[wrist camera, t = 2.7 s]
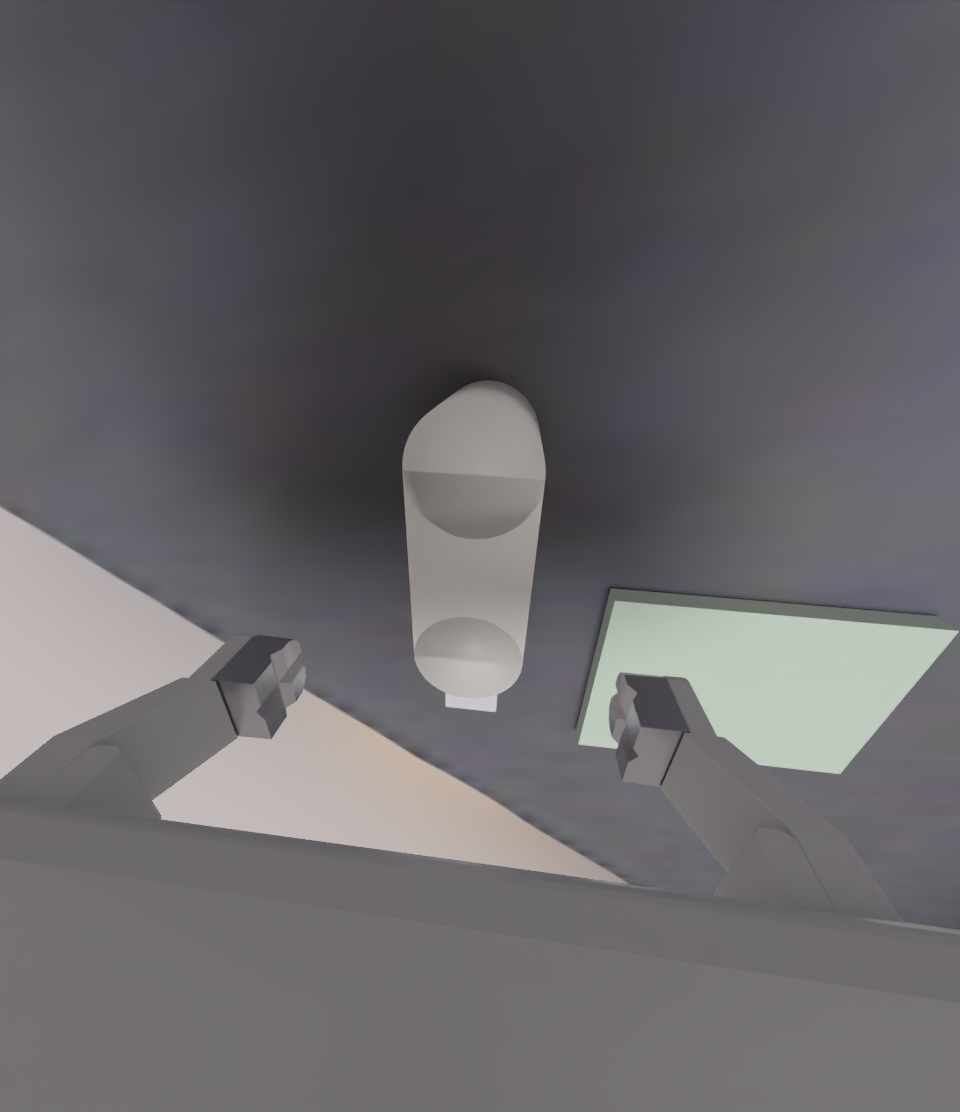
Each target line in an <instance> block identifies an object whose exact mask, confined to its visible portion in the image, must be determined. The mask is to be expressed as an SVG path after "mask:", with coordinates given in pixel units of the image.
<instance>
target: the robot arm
mask: <svg viewBox="0 0 960 1112" xmlns="http://www.w3.org/2000/svg"><path fill="white" fill-rule="evenodd" d="M300 653H301V648H300V645H299V642H298V641H296V640H294V639H287V638H279V637H271V636H263V635H251V634H244V633H239V634H236V635H233V636H232V637H231V638H230V639H229V640H228V641H227V642H226V643H225V644H224V645H223V646H222V647H221V648H220V649H218V650H217V652H215V653H214V655H212V656H211V657H210V658H209V659H208V660H207V661H206V662H205V663H204V664H203V665H202V666H201V667H200V668H199V669H198V670H197V671H196V672H194V674H192V675H191V676H190V677H189V678H181V679H178V680H176V681H174V682H172V683H170V684H168V685H165V686H163V687H161V688H159V689H156V690H154V691H152V692H150V693H148V694H145V695H143V696H141V697H139V698H137V699H135V700H132V701H130V702H128V703H126V704H124V705H122V706H119V707H117V708H115V709H113V710H111V711H108V712H106V713H104V714H102V715H99V716H97V717H96V718H93V719H91V720H89V721H86V722H84V723H82V724H80V725H77V726H75V727H73V728H71V729H69V730H67V731H64V732H63V733H60V734H58V735H56V736H54V737H52V738H51V739H50V740H49V741H47V742H46V743H45V744H44V745H42V746H41V747H40V748H39V749H38V750H36V751H35V752H34V753H33V754H31V755H30V756H29V757H28V758H26V759H25V760H24V761H23V762H22V763H20V764H19V765H18V766H17V767H15V768H14V769H13V770H12V771H10V772H9V773H8V774H7V775H5V776H4V777H3V778H2V779H0V1112H960V930H957V929H949V928H942V927H935V926H928V925H920V924H913V923H906V922H902V920H901V919H900V917H899V916H898V914H897V913H896V911H895V910H894V908H893V907H892V905H891V904H890V902H889V901H888V899H887V898H886V896H885V895H884V893H883V892H882V890H881V889H880V887H879V886H878V884H877V883H876V881H875V880H874V878H873V877H872V875H871V874H870V872H869V871H868V869H867V868H866V866H865V865H864V863H863V862H862V860H861V859H860V857H859V856H858V854H857V853H856V851H855V850H854V848H853V847H852V845H851V844H850V842H849V841H848V839H847V838H846V836H845V835H844V834H842V833H841V832H840V831H839V830H837V829H836V828H835V827H834V826H832V825H831V824H830V823H829V822H828V821H826V820H825V819H824V818H823V817H821V816H820V815H819V814H818V813H817V812H815V811H814V810H813V809H812V808H810V807H809V806H808V805H807V804H805V803H804V802H803V801H802V800H801V799H799V798H798V797H797V796H796V795H794V794H793V793H792V792H791V791H790V790H788V789H787V788H786V787H785V786H783V785H782V784H781V783H780V782H778V781H777V780H776V779H775V778H774V777H772V776H771V775H770V774H769V773H767V772H766V771H765V770H764V769H763V768H761V767H760V766H759V765H758V764H756V763H755V762H754V761H753V760H751V759H750V758H749V757H748V756H747V755H745V754H744V753H743V752H742V751H740V750H739V749H738V748H737V747H736V746H734V745H733V744H732V743H731V742H729V741H728V740H727V739H726V738H724V737H717V735H716V733H715V731H714V729H713V727H712V725H711V723H710V721H709V719H708V717H707V715H706V714H705V712H704V710H703V708H702V706H701V704H700V702H699V700H698V698H697V696H696V694H695V692H694V690H693V688H692V686H691V684H690V683H689V681H688V680H687V679H686V678H682V677H671V676H657V675H646V674H635V673H625V672H620V673H619V675H618V676H617V680H616V683H615V684H616V688H617V692H618V693H616V694H615V695H614V696H612V697H611V702H610V706H609V726H610V731H611V736H612V738H613V739H614V740H615V741H616V742H617V743H618V748H617V751H616V758H617V762H618V766H619V770H620V774H621V779H622V781H625V782H632V783H638V784H645V785H652V786H659V787H661V788H660V789H661V790H662V792H663V793H664V794H665V795H666V797H667V798H668V799H669V800H670V802H671V803H672V804H673V805H674V807H675V808H676V809H677V810H678V812H679V813H680V814H681V816H682V817H683V818H684V819H685V821H686V822H687V823H688V824H689V826H690V827H691V828H692V829H693V831H694V832H695V833H696V835H697V836H698V837H699V838H700V840H701V841H702V842H703V843H704V845H705V846H706V847H707V848H708V850H709V851H710V852H711V853H712V855H713V856H714V857H715V859H716V860H717V861H718V862H719V864H720V865H721V866H722V867H723V869H724V870H725V871H726V872H727V874H726V876H725V877H724V879H723V880H722V882H721V883H720V885H719V886H718V888H717V889H716V891H715V892H714V894H713V895H712V896H710V895H703V894H696V893H689V892H681V891H674V890H667V889H660V888H652V887H645V886H638V885H631V884H623V883H616V882H609V881H602V880H594V879H587V878H580V877H573V876H565V875H558V874H551V873H544V872H537V871H530V870H522V869H515V868H508V867H500V866H494V865H486V864H479V863H472V862H464V861H458V860H451V859H443V858H436V857H429V856H422V855H414V854H407V853H399V852H393V851H385V850H378V849H371V848H364V847H356V846H349V845H341V844H334V843H326V842H320V841H312V840H305V839H298V838H290V837H284V836H276V835H268V834H262V833H254V832H247V831H240V830H233V829H226V828H218V827H210V826H203V825H196V824H190V823H182V822H175V821H168V820H161V815H160V813H159V811H158V810H157V808H156V807H155V805H154V804H153V802H152V800H153V799H154V798H156V797H157V796H159V794H161V793H163V792H164V791H165V790H167V789H168V788H169V787H171V786H172V785H174V784H175V783H176V782H178V781H179V780H180V779H182V778H183V777H184V776H186V775H187V774H189V773H190V772H191V771H192V770H194V769H195V768H197V767H198V766H200V765H201V764H202V763H204V762H205V761H206V760H208V759H209V758H211V757H212V756H213V755H215V754H216V753H217V752H218V751H220V750H221V749H223V748H224V747H226V746H227V745H228V744H230V743H231V742H232V741H234V740H235V739H236V738H237V736H244V737H255V738H267V739H272V737H273V736H274V734H275V733H276V731H277V730H278V728H279V727H280V725H281V724H282V722H283V721H284V719H285V718H286V716H287V715H286V707H288V706H289V705H291V704H293V703H294V702H296V701H297V699H298V698H299V696H300V694H301V693H302V691H303V687H304V684H305V681H306V670H305V665H304V664H303V663H302V662H301V661H300V660H299V659H298V658H297V657H298V656H299V654H300Z"/></svg>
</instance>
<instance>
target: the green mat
mask: <svg viewBox="0 0 960 1112" xmlns="http://www.w3.org/2000/svg"><path fill="white" fill-rule="evenodd" d="M958 632H959V630H957V629H956V628H954V627H953V626H951V625H950V624H948V623H947V622H945V621H944V620H942V619H941V618H939V617H938V616H931V615H920V614H908V613H896V612H884V611H873V610H861V609H849V608H837V607H826V606H814V605H802V604H790V603H779V602H767V601H755V600H743V599H732V598H720V597H708V596H696V595H685V594H673V593H661V592H649V591H638V590H626V589H614V588H610V592H609V596H608V600H607V605H606V609H605V613H604V617H603V621H602V625H601V629H600V633H599V637H598V641H597V645H596V650H595V654H594V658H593V662H592V666H591V670H590V674H589V678H588V682H587V686H586V690H585V695H584V699H583V703H582V707H581V711H580V715H579V719H578V723H577V727H576V732H577V739H578V744H580V745H588V746H597V747H606V748H615V749H617V748H618V743H617V742H616V741H615V740H614V739H613V738H612V736H611V731H610V726H609V706H610V702H611V697H612V696H614V695H615V694H616V693H618V692H617V688H616V684H615V683H616V680H617V676H618V675H619V673H620V672H625V673H635V674H646V675H657V676H671V677H682V678H686V679H687V680H688V681H689V683H690V684H691V686H692V688H693V690H694V692H695V694H696V696H697V698H698V700H699V702H700V704H701V706H702V708H703V710H704V712H705V714H706V715H707V717H708V719H709V721H710V723H711V725H712V727H713V729H714V731H715V733H716V735H717V737H724V738H726V739H727V740H728V741H729V742H731V743H732V744H733V745H734V746H736V747H737V748H738V749H739V750H740V751H742V752H743V753H744V754H745V755H747V756H748V757H749V758H750V759H751V760H753V761H754V762H755V763H756V764H758V765H764V766H773V767H782V768H791V769H800V770H808V771H817V772H826V773H835V774H840V773H841V772H842V771H843V770H844V768H845V767H846V766H847V765H848V764H849V762H850V761H851V760H852V759H853V758H854V757H855V755H856V754H857V753H858V752H859V751H860V749H861V748H862V747H863V746H864V745H865V743H866V742H867V741H868V740H869V739H870V737H871V736H872V735H873V734H874V733H875V731H876V730H877V729H878V728H879V727H880V725H881V724H882V723H883V722H884V721H885V719H886V718H887V717H888V716H889V715H890V713H891V712H892V711H893V710H894V709H895V707H896V706H897V705H898V704H899V703H900V701H901V700H902V699H903V698H904V697H905V695H906V694H907V693H908V692H909V691H910V690H911V688H912V687H913V686H914V685H915V684H916V682H917V681H918V680H919V679H920V678H921V676H922V675H923V674H924V673H925V672H926V670H927V669H928V668H929V667H930V666H931V664H932V663H933V662H934V661H935V660H936V658H937V657H938V656H939V655H940V654H941V652H942V651H943V650H944V649H945V648H946V646H947V645H948V644H949V643H950V642H951V640H952V639H953V638H954V637H955V636H956V634H957V633H958Z"/></svg>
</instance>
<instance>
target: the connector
mask: <svg viewBox="0 0 960 1112" xmlns="http://www.w3.org/2000/svg"><path fill="white" fill-rule="evenodd" d="M402 472H403V487H404V503H405V518H406V534H407V550H408V565H409V581H410V597H411V612H412V628H413V643H414V657H415V662H416V665H417V667H418V669H419V671H420V673H421V674H422V675H423V677H424V678H425V679H426V680H427V681H428V682H429V683H430V684H432V685H433V686H435V687H436V688H438V689H439V690H441V691H443V692H446V707H453V708H463V709H472V710H481V711H490V712H496V705H497V694H499V693H501V692H504V691H505V690H507V689H508V688H509V687H511V686H512V685H513V684H514V683H515V682H516V680H517V679H518V677H519V675H520V673H521V670H522V664H523V656H524V648H525V640H526V632H527V624H528V615H529V607H530V599H531V591H532V583H533V575H534V567H535V559H536V551H537V543H538V534H539V526H540V518H541V510H542V502H543V494H544V486H545V475H546V467H545V458H544V452H543V446H542V441H541V435H540V429H539V424H538V419H537V416H536V413H535V411H534V409H533V407H532V405H531V404H530V402H529V401H528V399H527V398H526V397H525V396H524V395H523V394H522V393H521V392H519V391H518V390H517V389H515V388H513V387H512V386H510V385H508V384H505V383H502V382H498V381H491V380H484V381H477V382H474V383H471V384H468V385H466V386H464V387H462V388H461V389H459V390H458V391H456V392H455V393H454V394H452V395H451V396H450V397H448V398H447V399H446V400H444V401H443V402H442V403H440V404H439V405H438V406H436V407H435V408H433V409H432V410H431V411H429V412H428V413H427V414H426V415H425V416H424V417H423V418H421V420H420V421H419V422H418V423H417V424H416V426H415V427H414V429H413V430H412V432H411V433H410V435H409V438H408V440H407V442H406V445H405V449H404V453H403V461H402Z"/></svg>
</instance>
